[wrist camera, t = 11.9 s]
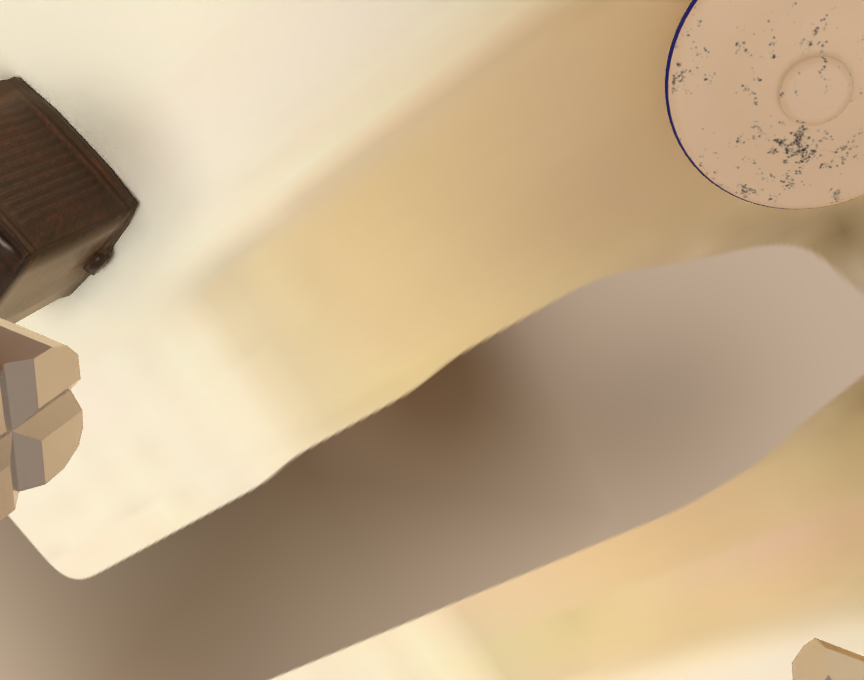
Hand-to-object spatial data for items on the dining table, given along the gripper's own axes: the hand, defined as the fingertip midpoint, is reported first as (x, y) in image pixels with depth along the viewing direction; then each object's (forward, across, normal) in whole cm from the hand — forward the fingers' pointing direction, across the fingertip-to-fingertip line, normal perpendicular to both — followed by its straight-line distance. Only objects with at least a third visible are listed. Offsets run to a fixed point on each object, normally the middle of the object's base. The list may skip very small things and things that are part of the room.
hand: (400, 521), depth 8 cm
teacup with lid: (+32, -4, -3) cm, 33 cm away
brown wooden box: (+32, +32, +15) cm, 48 cm away
